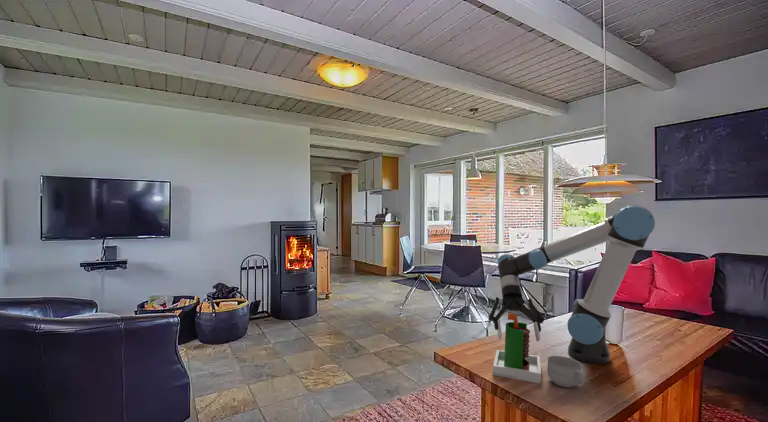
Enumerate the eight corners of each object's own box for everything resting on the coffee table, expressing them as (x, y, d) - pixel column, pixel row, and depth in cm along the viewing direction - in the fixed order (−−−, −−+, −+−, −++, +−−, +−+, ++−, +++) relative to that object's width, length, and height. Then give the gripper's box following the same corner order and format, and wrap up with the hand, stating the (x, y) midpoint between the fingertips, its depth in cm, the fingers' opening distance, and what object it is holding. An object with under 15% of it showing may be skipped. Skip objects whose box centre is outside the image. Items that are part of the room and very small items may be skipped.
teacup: (541, 376, 135) (541, 354, 135) (569, 375, 136) (570, 354, 136) (562, 396, 121) (563, 372, 121) (594, 395, 122) (595, 371, 122)
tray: (539, 365, 144) (539, 356, 144) (540, 383, 130) (540, 373, 129) (496, 358, 150) (496, 349, 150) (492, 375, 135) (493, 365, 135)
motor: (531, 374, 134) (532, 319, 134) (505, 372, 136) (506, 317, 136) (527, 363, 144) (528, 311, 144) (502, 360, 146) (504, 309, 145)
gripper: (540, 295, 153) (552, 345, 139) (478, 292, 156) (483, 341, 141) (545, 285, 148) (557, 336, 133) (480, 282, 151) (486, 332, 136)
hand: (519, 338), depth 137 cm, fingers open, 13 cm apart
